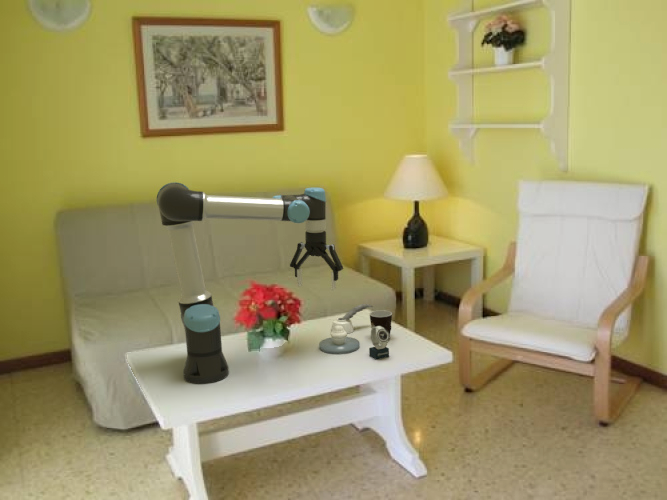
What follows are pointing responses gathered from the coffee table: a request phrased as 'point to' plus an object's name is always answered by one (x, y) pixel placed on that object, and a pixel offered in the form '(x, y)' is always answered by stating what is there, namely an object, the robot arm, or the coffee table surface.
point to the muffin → (338, 335)
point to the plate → (339, 346)
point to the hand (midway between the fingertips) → (316, 287)
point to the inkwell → (345, 320)
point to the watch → (379, 337)
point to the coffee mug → (381, 319)
